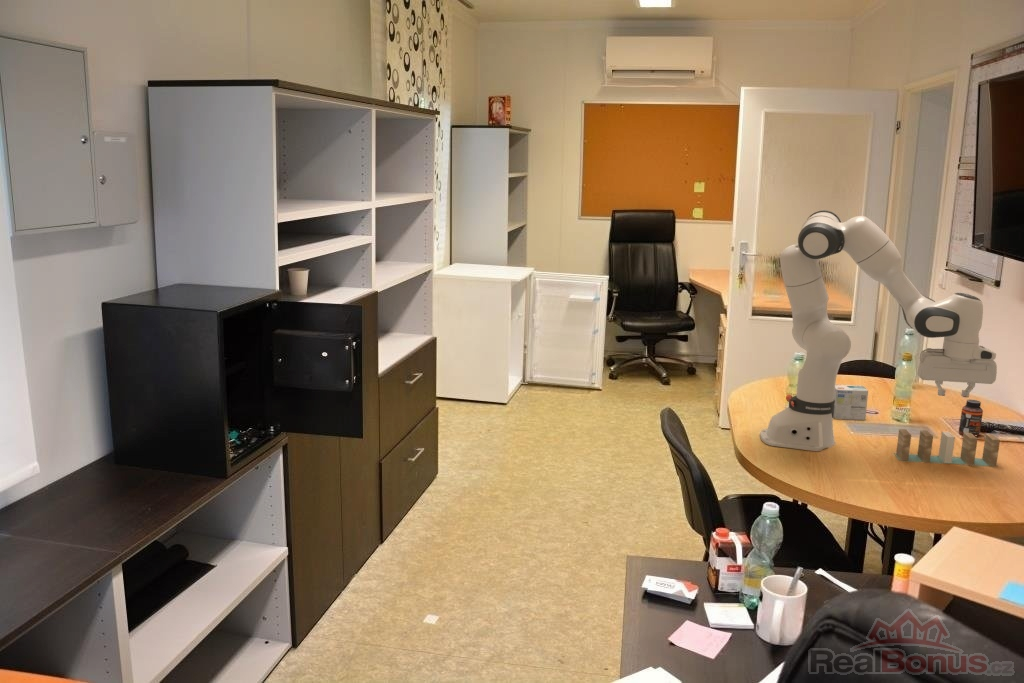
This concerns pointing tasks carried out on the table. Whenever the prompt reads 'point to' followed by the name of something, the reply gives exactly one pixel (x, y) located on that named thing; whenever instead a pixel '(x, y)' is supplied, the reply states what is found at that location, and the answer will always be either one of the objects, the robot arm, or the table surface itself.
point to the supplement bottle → (971, 418)
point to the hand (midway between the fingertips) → (953, 396)
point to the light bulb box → (850, 402)
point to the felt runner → (937, 460)
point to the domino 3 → (946, 447)
